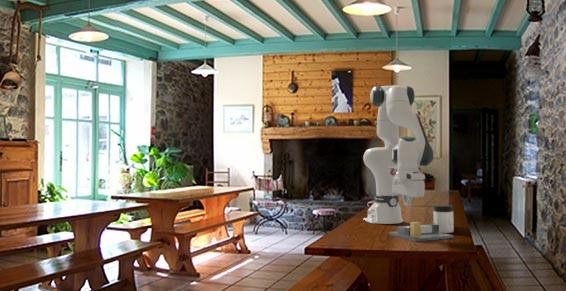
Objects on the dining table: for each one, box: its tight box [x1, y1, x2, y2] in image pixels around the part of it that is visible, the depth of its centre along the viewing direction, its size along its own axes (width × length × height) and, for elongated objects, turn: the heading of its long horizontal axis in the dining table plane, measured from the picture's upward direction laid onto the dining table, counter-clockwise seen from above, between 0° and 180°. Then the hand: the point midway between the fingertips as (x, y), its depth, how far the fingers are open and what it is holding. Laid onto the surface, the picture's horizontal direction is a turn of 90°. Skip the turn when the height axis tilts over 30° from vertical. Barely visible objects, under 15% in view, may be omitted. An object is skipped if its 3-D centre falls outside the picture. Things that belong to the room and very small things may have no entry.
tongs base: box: [397, 223, 433, 236], centre depth 239 cm, size 6×17×3 cm, turn 111°
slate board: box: [388, 230, 454, 242], centre depth 238 cm, size 20×19×1 cm
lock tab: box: [409, 221, 421, 238], centre depth 228 cm, size 3×3×6 cm
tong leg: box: [420, 223, 439, 234], centre depth 239 cm, size 12×2×3 cm, turn 109°
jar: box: [432, 204, 455, 234], centre depth 251 cm, size 9×8×12 cm
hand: (407, 205), depth 238 cm, fingers closed
